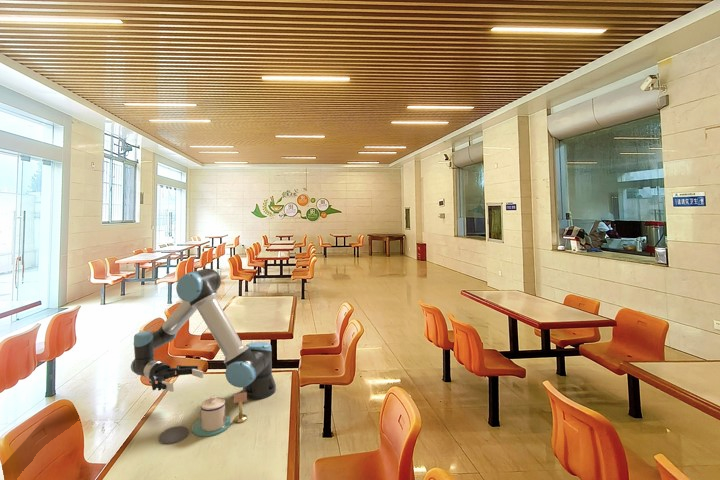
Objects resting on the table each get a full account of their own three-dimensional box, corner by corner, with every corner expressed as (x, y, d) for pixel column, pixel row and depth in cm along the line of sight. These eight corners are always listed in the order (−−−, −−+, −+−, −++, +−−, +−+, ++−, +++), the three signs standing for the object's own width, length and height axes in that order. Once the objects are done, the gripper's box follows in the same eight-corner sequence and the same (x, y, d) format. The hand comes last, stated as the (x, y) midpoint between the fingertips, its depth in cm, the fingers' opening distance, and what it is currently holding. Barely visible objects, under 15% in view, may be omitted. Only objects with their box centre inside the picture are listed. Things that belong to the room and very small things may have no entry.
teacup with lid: (229, 426, 142) (228, 397, 141) (205, 435, 136) (204, 405, 135) (218, 413, 151) (217, 386, 150) (195, 421, 145) (194, 393, 144)
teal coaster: (230, 413, 152) (230, 411, 152) (230, 432, 139) (230, 430, 139) (193, 420, 147) (193, 418, 147) (190, 440, 134) (190, 438, 134)
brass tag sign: (247, 415, 151) (246, 389, 150) (247, 421, 146) (247, 394, 146) (234, 417, 149) (233, 391, 149) (234, 424, 145) (233, 396, 144)
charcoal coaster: (190, 426, 143) (190, 424, 143) (187, 440, 134) (187, 438, 134) (161, 431, 140) (161, 429, 140) (156, 446, 131) (156, 444, 131)
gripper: (184, 368, 171) (214, 378, 161) (128, 391, 150) (158, 403, 139) (183, 353, 171) (213, 361, 160) (127, 373, 149) (157, 384, 139)
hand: (188, 381), depth 150 cm, fingers open, 13 cm apart
